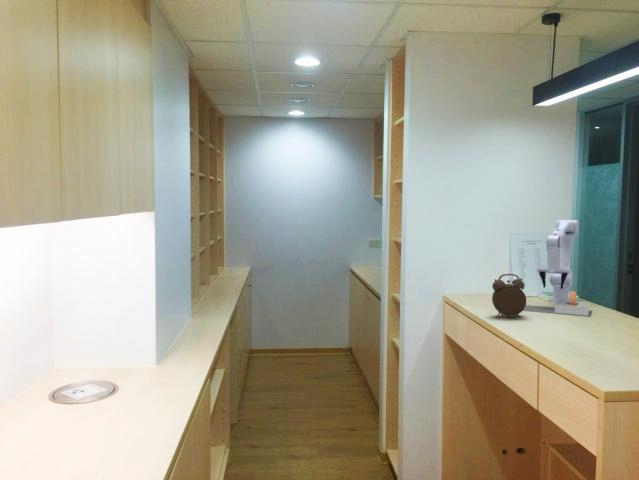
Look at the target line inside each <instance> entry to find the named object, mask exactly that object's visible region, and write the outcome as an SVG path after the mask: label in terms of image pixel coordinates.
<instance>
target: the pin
mask: <svg viewBox="0 0 639 480" xmlns="http://www.w3.org/2000/svg"><path fill="white" fill-rule="evenodd" d="M568 301H569V304H572V305H576V301H577V291H573V290H572V291H570V290H569V297H568Z"/></svg>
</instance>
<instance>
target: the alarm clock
mask: <svg viewBox="0 0 639 480" xmlns="http://www.w3.org/2000/svg"><path fill="white" fill-rule="evenodd" d="M505 276H513V277H514V276H515V277H516V278H517V279H516V278H515V279H514V280H512V281H511V280H506V282H507V283H505V281H503V280H502V277H505ZM510 282H511V284H509V283H510ZM525 285H526V284H525V283H524V281H523V278H520V277H519V276H518V275H517V274H514V273H503V274H502V275H500V276H499V278H497V279H496V278H495V279H494V281H493V283H492V289H493V292H492V296H491V300H492V301H491V302H492V304H493V306H494V308H495V310H496V311H497V312H498V314H497V317H499V316H500V317H499V318H502V317H503V316H506V317H515V316H517V317H518V318H520V314H521V313H522V312H524V311H523V310H524V308H525V306H526V305H527V296H526V293H524V288H525Z"/></svg>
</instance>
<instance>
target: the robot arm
mask: <svg viewBox="0 0 639 480" xmlns="http://www.w3.org/2000/svg"><path fill="white" fill-rule="evenodd" d="M579 226H580V225H579V221H578V220H577V219H575V220H574V219H557V221H556V224H555V229H554V230H553V232H552V233H551V234H549V235H548V236H546V239H545V244H546V251H547V256H546V257H547V259H546V260H547V261H546V263H547V264H546V265H547V266H546V268H545V267H537V269H536V273H538V275H539V277H540V280H541V283H542V287H543V288H544V289H545V288H546V286H547V285H546V279H547V278H546V276H547V274H549V284H550V285H551V286H552V301H551V303H550V304H551V305H555V304H556V302H557V301H558V300H564V301H569V292H570V290H569V289H570V287H571V286H573V279H574V277H573V276H574V275H573V272H572V270H571V269H570V268H569V264H570V263H569V262H570V257H571V251H572V244H573V241H574V239H577V237H578V234H579V229H580V228H579Z"/></svg>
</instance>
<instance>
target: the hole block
mask: <svg viewBox="0 0 639 480" xmlns="http://www.w3.org/2000/svg"><path fill="white" fill-rule="evenodd" d="M554 307H555V313H558V314H557V315H563V314H569V315H568V316H574V315H581V316H580V317H585V316H588V315H589V312H590V310H591V302H587V301H577V300H576V305H572V304H569V300H568V301H564V300H558V301H557V302H556V304H554Z"/></svg>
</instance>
